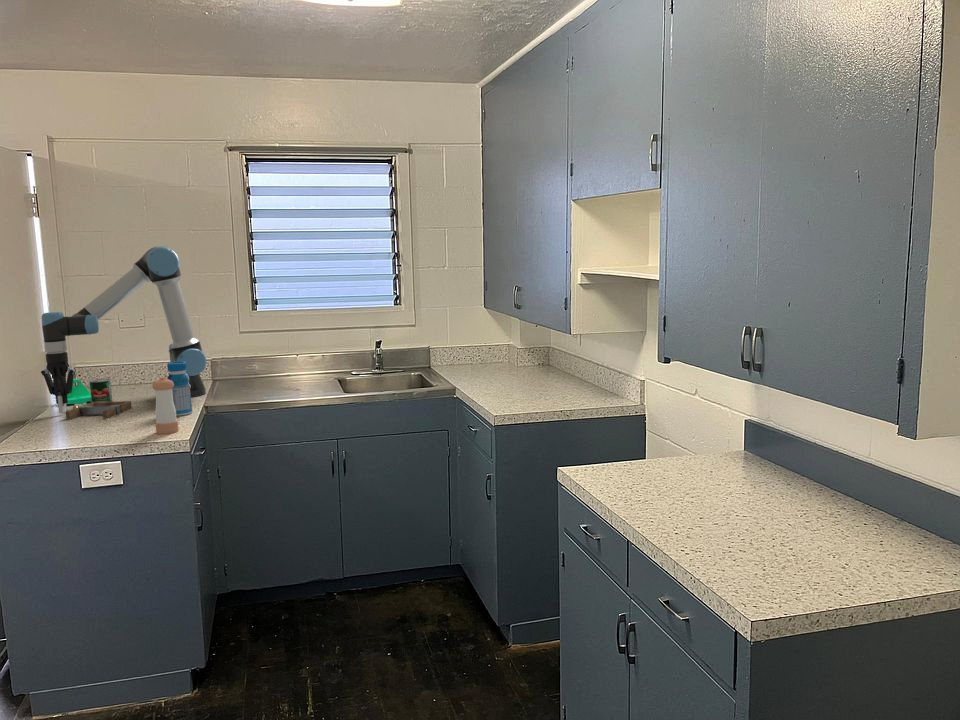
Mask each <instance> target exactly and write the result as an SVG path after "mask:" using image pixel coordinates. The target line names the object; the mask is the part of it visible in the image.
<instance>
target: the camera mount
mask: <svg viewBox="0 0 960 720" xmlns="http://www.w3.org/2000/svg"><path fill="white" fill-rule="evenodd" d="M76 383H77V384H76ZM75 384H76V385H75ZM67 399H68V403H66V405H73V404H74V405H73V406H76V405H75V404H81V405H84V404H83V403H87V404H88V402H92V401H91V392H90V391H89V389H87V387H86V386H85V385H84V384H83V383H82V381H81V380H80V379H78V378H73V386H72V392H71V393H69V394H67Z"/></svg>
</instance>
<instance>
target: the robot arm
mask: <svg viewBox="0 0 960 720" xmlns="http://www.w3.org/2000/svg"><path fill="white" fill-rule="evenodd" d="M181 278H182V273H181V270H180V260H179V256H178V254H177V253H176V252H175V251H174V250H173V249H171V248H170V247H167V246H164V245H163V246H161V245H160V246H154V247H151V248H150V249H148V250H147V251H146V252H145V253H144V254H143V255H142V256H141V257H140V258H139V259H138V260H137V261H136V262H135V263H134V264H133V267H132V268H131V269H130V270H128V272H126V273H125V274H124V275H122V277H120V278H119V279H118V280H116V281H115V282H114V283H112V284H111V285H110V286H109V287H108V288H106V289H105V290H103V291H102V292H101V293H99V295H97V296H96V297H95V298H94V299H92V300H91V301H90V302H89V303H87V304H86V305H85V306H84V307H83V308H82V309H80V310H79V311H77V312H76V313H74V314H73V315H71V316H64V314H63V312H62V311H54V312H53V311H51V312H50V311H49V312H44V313H42V314H41V329H42V335H43V342H44V343H43V345H44V352H45V360H46V361H45V362H46V368H45V369H43V370H41V371H40V374H41V375H42V376H43V377H44V381H45V383H46V387H47V389H48V392H49V394H50V395H53V396H54V397H55V402H56V404H57V405H58V413H62V414H63V413H66V412H68V411H67V410H68V409H67V404H66V403H68V399H67V394H69V393H71V392H72V386H73V379H75V378H74V377H75V374H76V372H77V369H76V368H71V366H70V364H69V358H68V357H69V356H68V355H69V354H68V352H67V350H68V349H67V339H66V337H70V336H85V335H88V336H90V335H96V334H98V333H99V332H100V326H99V321H100V320H101V319H102V318H104V317H105V316H106V315H107V314H109V313H110V312H111V311H112V310H114V309H115V308H116V307H117V306H119V305H120V304H121V303H122V302H123V301H125V300H126V299H127V298H128V297H129V296H131V295H132V294H133V293H135V292H136V291H138V289H140V288H141V287H142V286H143V285H144V284H146V283H147V282H148V283H152V284H153V285H155V286H156V287H157V290H158V294H159V296H160V297H159V298H160V301H161V305H162V308H163V311H164V315H165V318H166V321H167V324H168V325H167V326H168V329H169V332H170V336H171V339H172V343H170V344H169V346H168V353H169V361H170V362H180V361H182V362H186V368H187V369H186V371H185V372H186V373H187V375H188V376H189V379H190V380H189V383H190V386H191V388H190V393H191V398H193V397H198V396H199V397H200V396H202V395H205V394H207V391H206V389H207V388H206V386H205V384H204V382H203V380H202V377H201V373H202V372H203V371H204V370H205V369H206V366H207V356H206V355H205V353H204V351H203V349H202V345H201V342H200V340H199V339H198V338H196V337H195V334H194V332H193V327H192V324H191V320H190V317H189V312H188V310H187V306H186V301H185V298H184V294H183V292H182V287H181V284H180V280H181ZM170 362H169V363H170Z"/></svg>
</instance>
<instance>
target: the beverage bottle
mask: <svg viewBox="0 0 960 720" xmlns="http://www.w3.org/2000/svg"><path fill="white" fill-rule="evenodd" d="M166 367H167V372H168V376H167V377H166V379H169V380H172V382H173V383H174V387H173V388H172V394H173V402H174V406H175V409H176V417H177V416H178V417H180V416H187V415H190V414H192V413H193V407H192V397H191V393H190V388H191V386H190V383H189V380H190V379H189V376H188V375H187V373H186V372H185V371H186V369H187V368H186V362H182V361H180V362H168V363H167V365H166Z"/></svg>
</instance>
